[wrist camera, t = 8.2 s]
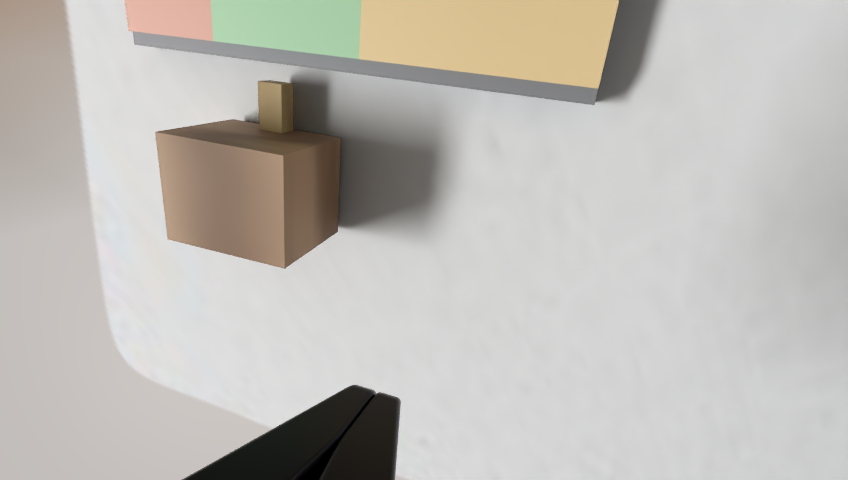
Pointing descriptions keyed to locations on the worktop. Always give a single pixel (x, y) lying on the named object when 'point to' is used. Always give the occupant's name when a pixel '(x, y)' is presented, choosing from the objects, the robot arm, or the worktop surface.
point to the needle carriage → (251, 183)
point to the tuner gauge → (401, 39)
